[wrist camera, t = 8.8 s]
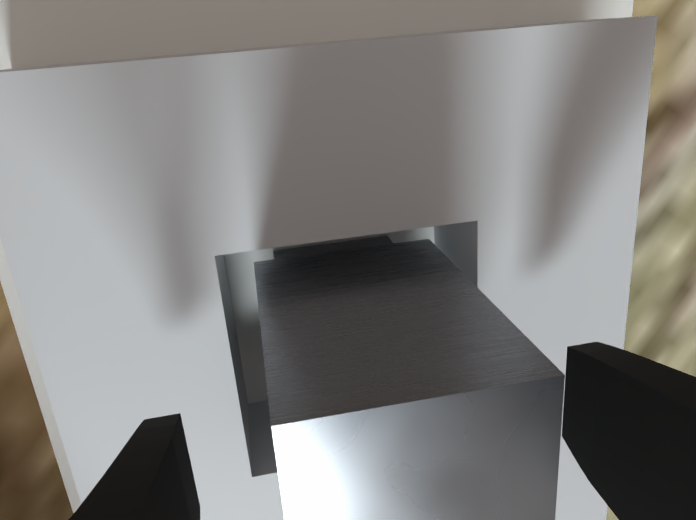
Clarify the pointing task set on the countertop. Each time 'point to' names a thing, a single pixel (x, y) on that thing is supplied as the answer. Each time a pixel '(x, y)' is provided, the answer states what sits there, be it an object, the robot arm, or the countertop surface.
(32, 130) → the bracket board
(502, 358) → the grey tall block
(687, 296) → the countertop surface
